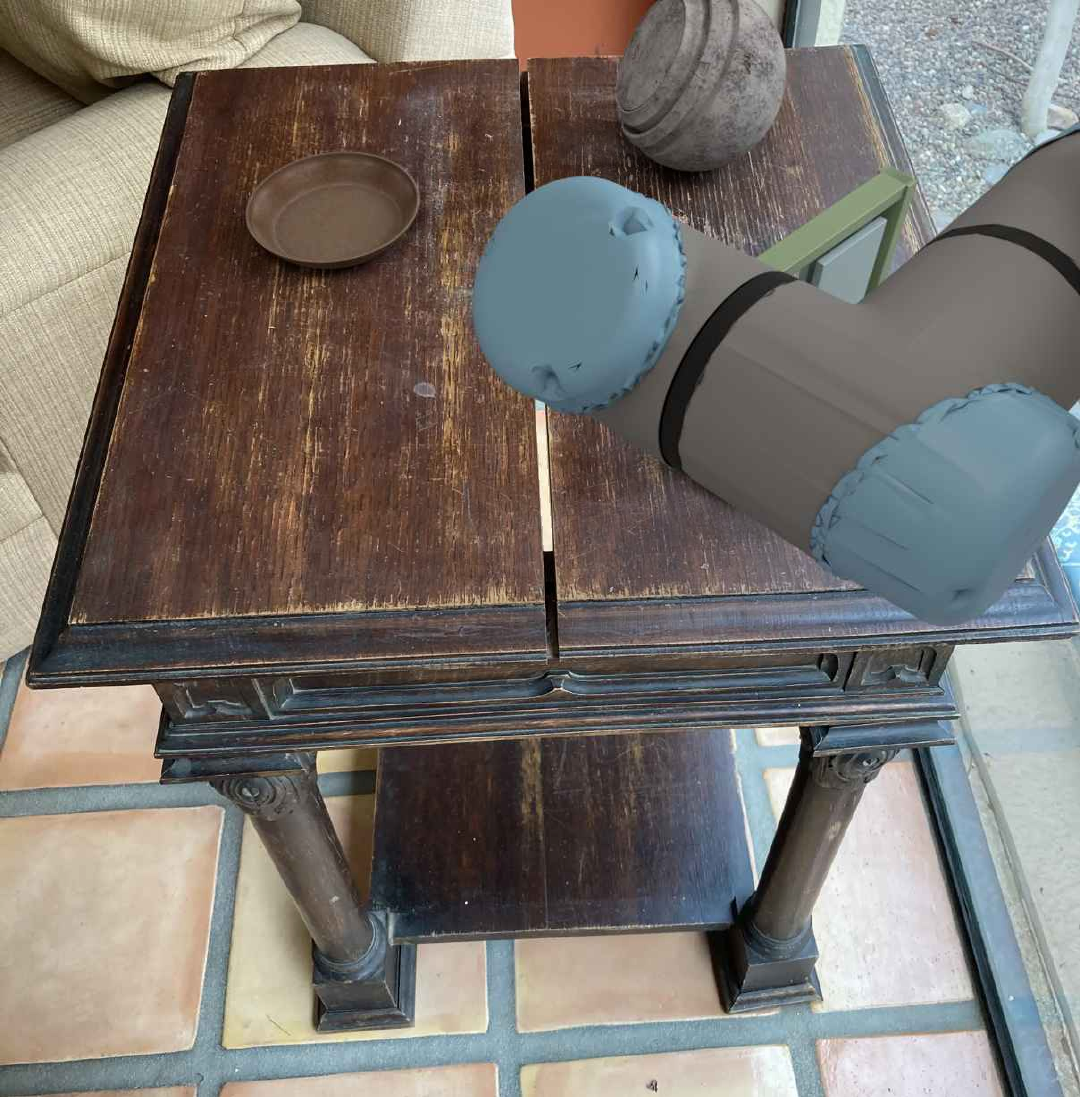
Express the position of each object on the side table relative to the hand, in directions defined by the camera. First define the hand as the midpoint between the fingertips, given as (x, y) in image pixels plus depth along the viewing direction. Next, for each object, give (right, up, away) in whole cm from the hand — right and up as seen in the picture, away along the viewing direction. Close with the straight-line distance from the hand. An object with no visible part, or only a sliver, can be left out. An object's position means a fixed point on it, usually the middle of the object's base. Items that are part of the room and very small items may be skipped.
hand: (877, 426), depth 66 cm
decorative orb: (-7, +28, +31) cm, 42 cm away
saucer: (-39, +20, +25) cm, 51 cm away
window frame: (-4, +2, +12) cm, 13 cm away
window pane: (+2, +2, +9) cm, 10 cm away
